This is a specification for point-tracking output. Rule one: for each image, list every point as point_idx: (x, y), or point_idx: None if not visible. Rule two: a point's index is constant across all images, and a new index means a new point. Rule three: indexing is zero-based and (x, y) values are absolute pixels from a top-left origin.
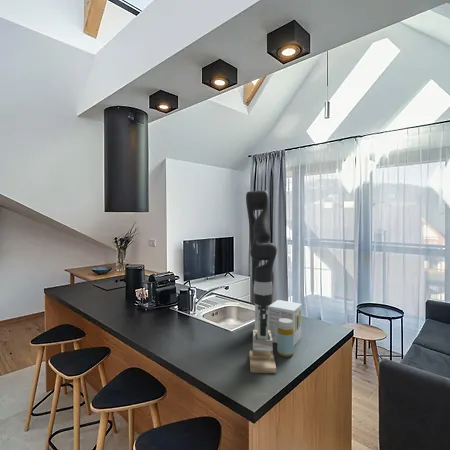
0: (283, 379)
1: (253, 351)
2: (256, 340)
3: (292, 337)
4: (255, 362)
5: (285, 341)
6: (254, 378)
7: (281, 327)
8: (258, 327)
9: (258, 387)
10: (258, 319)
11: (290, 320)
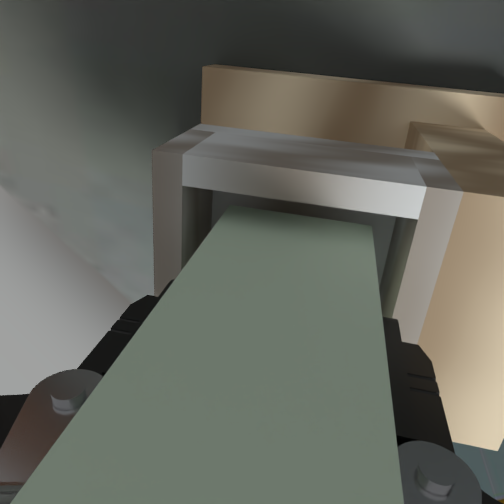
0: (141, 272)
1: (414, 133)
2: (155, 188)
3: None
4: (281, 125)
5: None
6: (134, 85)
7: None
8: (145, 326)
9: (36, 97)
10: (30, 496)
11: None
